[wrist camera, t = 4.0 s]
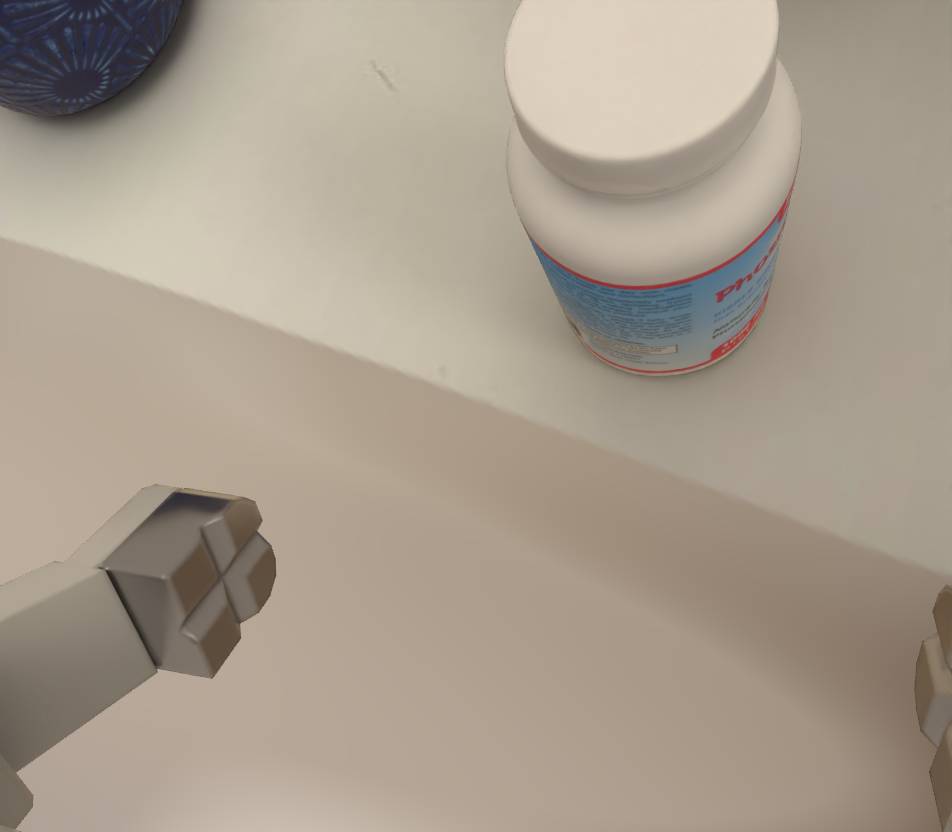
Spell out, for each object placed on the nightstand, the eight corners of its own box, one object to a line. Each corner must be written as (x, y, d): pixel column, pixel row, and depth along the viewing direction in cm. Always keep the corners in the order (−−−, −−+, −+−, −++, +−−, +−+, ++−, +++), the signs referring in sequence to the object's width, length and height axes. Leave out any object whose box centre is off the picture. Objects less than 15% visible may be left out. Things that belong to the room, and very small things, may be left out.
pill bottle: (764, 385, 21) (830, 195, 11) (557, 378, 23) (442, 208, 13) (771, 194, 22) (838, -147, 12) (574, 201, 24) (480, -90, 14)
